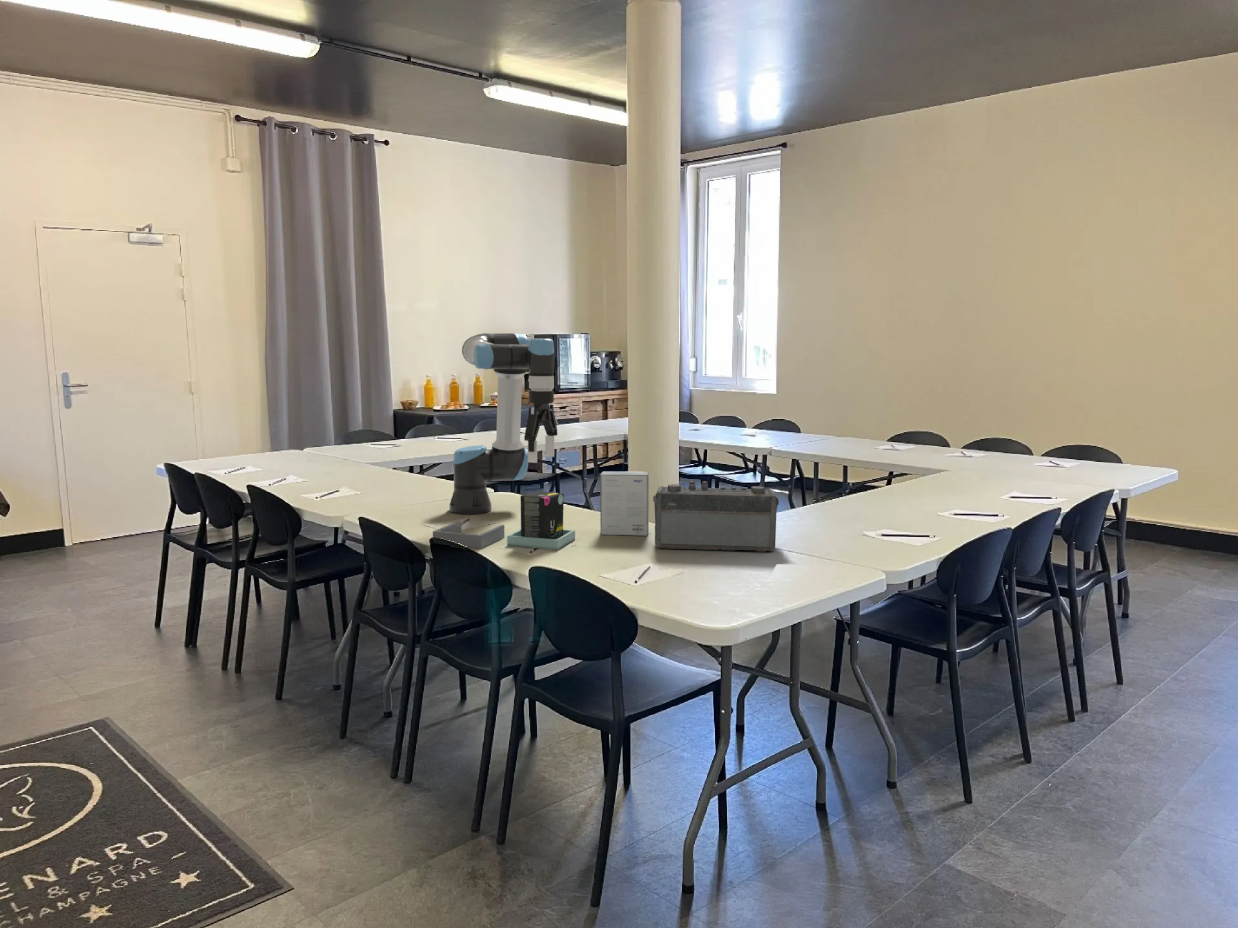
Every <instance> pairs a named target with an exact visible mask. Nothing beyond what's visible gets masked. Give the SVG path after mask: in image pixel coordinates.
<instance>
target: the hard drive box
mask: <svg viewBox="0 0 1238 928" xmlns="http://www.w3.org/2000/svg"><path fill="white" fill-rule="evenodd" d="M649 474H650V473H649V471H628V470H627V471H615V470H614V471H613V470H612V471H605V470H604V471H602V472H601V473H600V475H599V484H600V486H599V490H600V492H599V494H600V495H599V496H600V500H599V502H600V505H599V506H600V507H599V508H600V511H599V513H600V515H599V516H600V519H599V520H600V524H599V525H600V533H599V534H600V536H601V535H603V536H604V535H605V536H606V535H608V536H645V537H646V536H648V535H649V530H650V529H649V525H650V524H649V521H650V520H649V515H650V514H649V511H650V510H649V505H650V502H649V493H650V491H649V489H650V488H649V487H650V484H649V483H650V482H649Z"/></svg>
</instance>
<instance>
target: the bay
mask: <svg viewBox="0 0 1238 928" xmlns="http://www.w3.org/2000/svg"><path fill="white" fill-rule="evenodd" d="M505 534H506V533H505V525H504V524H499V525H498V526H495V527H493V528H490V529H489V530H487V531H485V532H482V533H480V534H475V533H468V532H467V533H465V532H464V533H463V532H462V521H456V522H453V523H450V524H448V525H446V526H443V527H440V528H437V529H435V530H433V531H432V538H433V537H437V538H443V539H445V540H450V541H454V542H456V543H460V544H462V545H464V546H467V547H466V548H468V547H470V549H479V550H481V549H484V548H486V547H488V546H490V545H492V544H494V543H496V542H498V541H500V540H502V539H504V538H505V537H506V535H505Z"/></svg>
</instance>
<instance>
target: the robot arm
mask: <svg viewBox="0 0 1238 928" xmlns="http://www.w3.org/2000/svg"><path fill="white" fill-rule="evenodd" d="M554 344H555V343H554V340H553V339H552V338H530V339H529V338H528V337H527V335H525V334H523V333H515V332H512V333H507V332H506V333H502V332H501V333H499V332H498V333H488V332H487V333H478V334H475V335H473V336H470V337H469V338H467V339H466V340H465V341H464V342H463V344H462V346H461V353H462V357H463V359H464V360H465V361H466V362H467V363H469V364H470V365H473V366H474V367H475V368H477V369H479V370H481V369H482V370H493V373H495V374H496V375H497V396H496V397H497V401H496V402H497V403H496V406H497V407H496V408H497V409H496V440H494V442H492V444H491V449H487V447H486V445H482V444H481V445H469V446H465V447H461V448H458V449H456V450H455V451H454V452H453V462H452V464H453V492H452V496H451V499H450V502H449V512H450V513H453V514H458V515H459V514H461V515H476V514H477V515H478V514H484V513H489V512H490V511H492V502H491V499H490V496H489V493H488V489H487V482H500V481H501V482H503V481H505V482H506V481H511V482H512V481H518V480H523V479H524V478H525V476H526V475H527V473H528V468H529V463H532V464H534V463H535V464H537V463H538V441H537V440H536V439H537V438H538V437H537V436H538V433H539V431H540V428H541V424H542V425H543V427H544V431H545V433H546V435H545V437H544V438H545V440H544V441H545V443H544V444H545V445H544V446H545V447H544V449H545V456H544V457H546V458H547V457H550V458H555V436H558V427H557V422H556V415H555V412H554V404H553V403H554V402H555V401H554V400H555V398H554V397H555V395H554V393H555V392H554V390H553V389H554V388H555V376H554V373H555V365H554V364H555V347H554V346H555V345H554ZM527 370H528V379H527V382H528V388H529V389H530V390H529V391H528V402H529V403H530V404H533V407H531V406H529V407H528V416H527V420H526V426H525V427H526V428H525V432H524V435H523V436H524V441H525V442H526V441H527V448H525V444H524V443H523V442H522V441H521V424H522V423H521V420H522V419H521V418H522V394H523V393H522V386H523V376H525V375H526V374H527Z"/></svg>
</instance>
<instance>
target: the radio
mask: <svg viewBox="0 0 1238 928" xmlns="http://www.w3.org/2000/svg"><path fill="white" fill-rule="evenodd" d="M652 499H653V500H652V501H653V502H654V503H653V504H654V523H655V524H654V544H655V547H656V548H658V549H660V550H661V549H676V550H705V551H706V550H707V551H709V550H711V551H712V550H713V551H735V550H756V551H755V552H766V551H771V552H773V551H775V548H776V539H777V538H776V537H777V534H776V533H777V511H778V506H779V504H780V503H779V502H780V501H779V498H778V497H777V494H776V493H775V491H774V489H773V488H772V489H771V488H768V489H765V486H757V485H755V486H751V488H747V487H741V488H736V487H731V488H726V486H721V487H720V488H718V487H709V483H708V481H705V480H704V481H703V480H702V482H701V487H696V481H695V480H689V484H688V487H683V486H682V485H681V484H677V483H676V484H675V483H674V484H673V483H672V484H668V485H667V486H663V485H661V486H659V487H658V488H657V490H656V493H655V494H654V495H653V498H652ZM719 549H721V550H719Z"/></svg>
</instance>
